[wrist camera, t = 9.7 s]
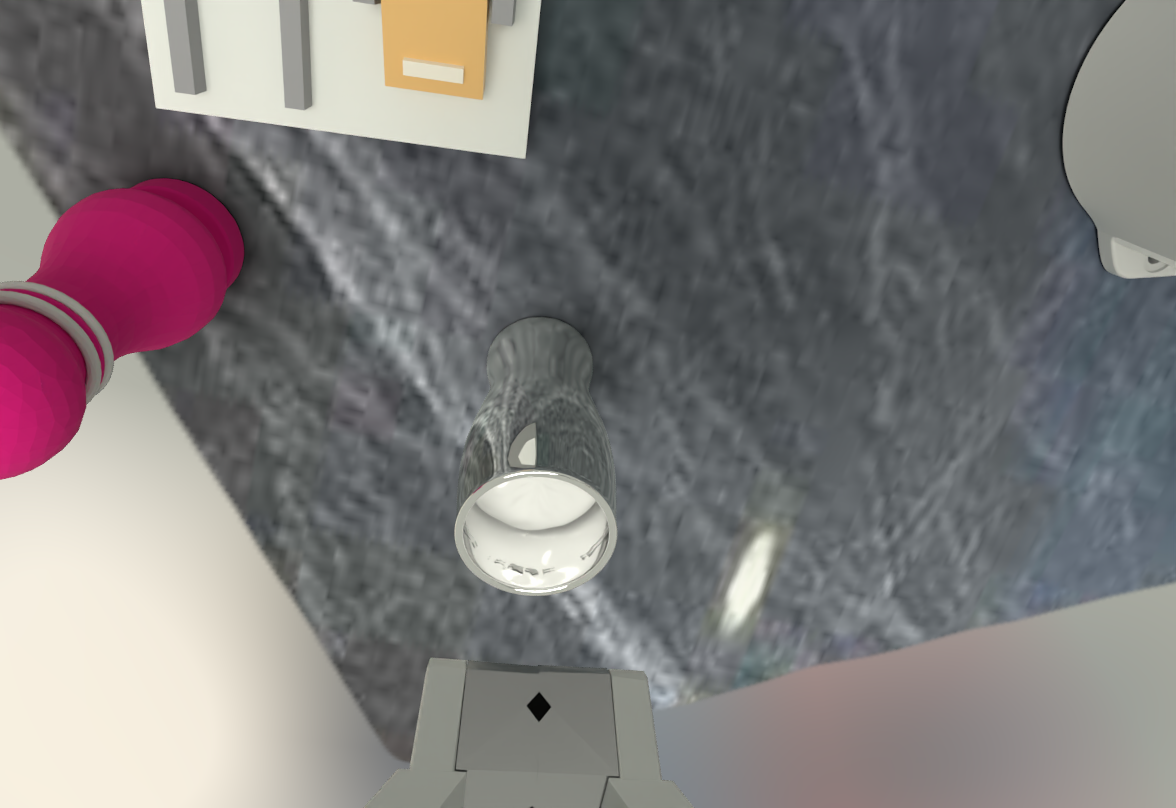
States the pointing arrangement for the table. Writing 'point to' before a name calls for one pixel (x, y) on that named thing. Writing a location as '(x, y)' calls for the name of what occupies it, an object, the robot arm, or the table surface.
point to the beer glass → (537, 467)
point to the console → (334, 71)
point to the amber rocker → (436, 45)
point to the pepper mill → (106, 304)
